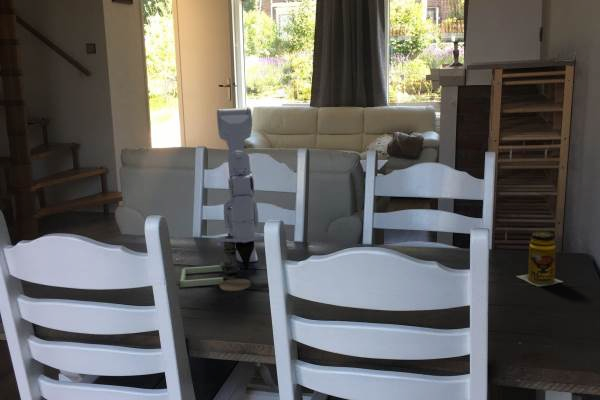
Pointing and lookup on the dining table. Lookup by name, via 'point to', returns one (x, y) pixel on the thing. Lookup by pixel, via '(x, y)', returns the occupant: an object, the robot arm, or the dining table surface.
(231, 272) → the salt shaker
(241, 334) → the dining table surface
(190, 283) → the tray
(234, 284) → the cork coaster
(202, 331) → the dining table surface
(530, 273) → the condiment
